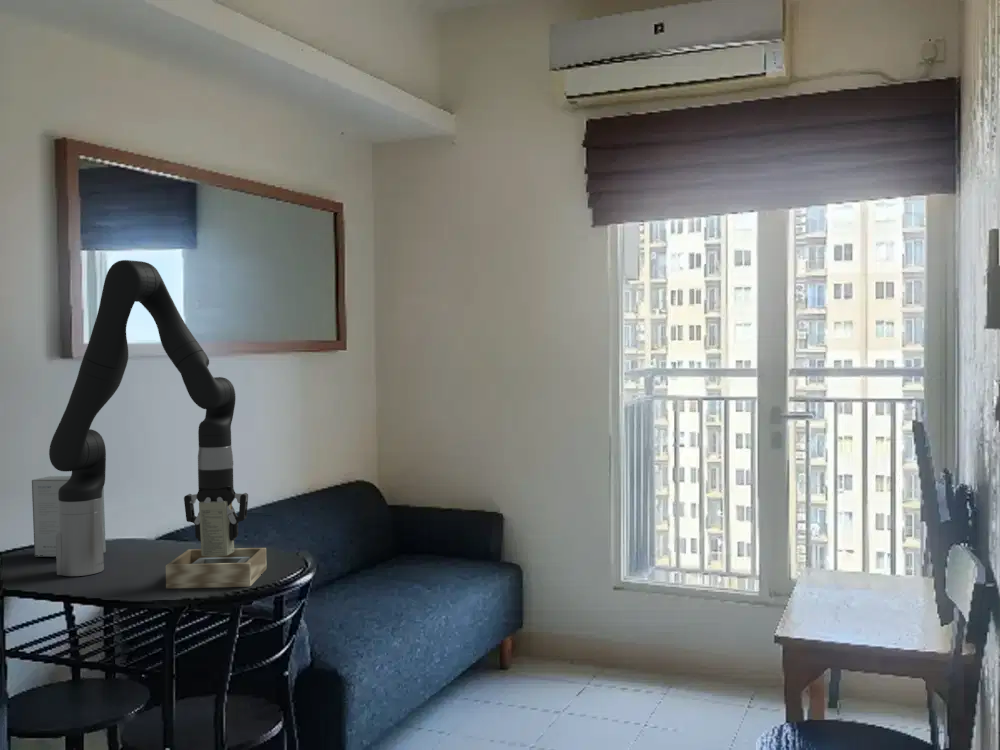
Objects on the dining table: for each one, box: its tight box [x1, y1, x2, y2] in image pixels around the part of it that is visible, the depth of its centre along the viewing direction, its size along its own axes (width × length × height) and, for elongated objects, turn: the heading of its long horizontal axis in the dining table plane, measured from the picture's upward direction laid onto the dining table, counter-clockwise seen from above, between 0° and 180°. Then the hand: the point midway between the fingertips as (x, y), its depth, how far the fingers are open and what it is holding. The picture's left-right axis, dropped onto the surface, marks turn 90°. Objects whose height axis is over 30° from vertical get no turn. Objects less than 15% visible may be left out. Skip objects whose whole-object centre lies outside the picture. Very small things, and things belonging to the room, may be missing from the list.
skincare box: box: [198, 501, 235, 556], centre depth 205 cm, size 6×4×12 cm
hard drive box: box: [31, 475, 107, 556], centre depth 232 cm, size 16×8×20 cm, turn 81°
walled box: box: [165, 547, 268, 589], centre depth 206 cm, size 18×16×5 cm
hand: (217, 539), depth 205 cm, fingers closed on skincare box, 6 cm apart
